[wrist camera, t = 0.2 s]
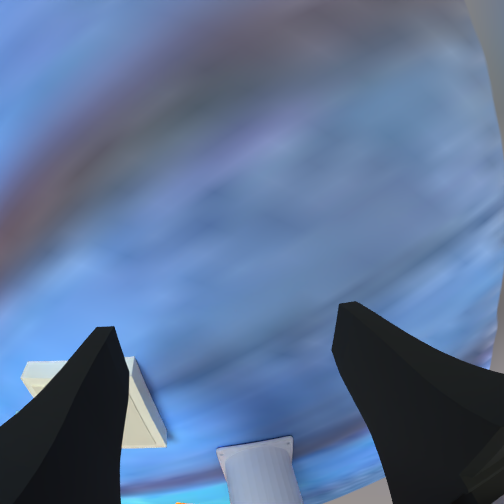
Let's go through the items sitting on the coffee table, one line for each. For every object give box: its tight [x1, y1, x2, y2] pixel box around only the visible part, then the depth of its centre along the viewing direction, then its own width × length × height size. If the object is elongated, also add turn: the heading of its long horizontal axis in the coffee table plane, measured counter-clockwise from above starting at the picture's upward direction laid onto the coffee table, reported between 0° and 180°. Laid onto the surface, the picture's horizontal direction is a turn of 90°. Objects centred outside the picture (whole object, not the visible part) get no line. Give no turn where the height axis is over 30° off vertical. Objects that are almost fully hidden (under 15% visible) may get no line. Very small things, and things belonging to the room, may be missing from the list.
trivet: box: [21, 357, 167, 448], centre depth 23 cm, size 10×10×3 cm
